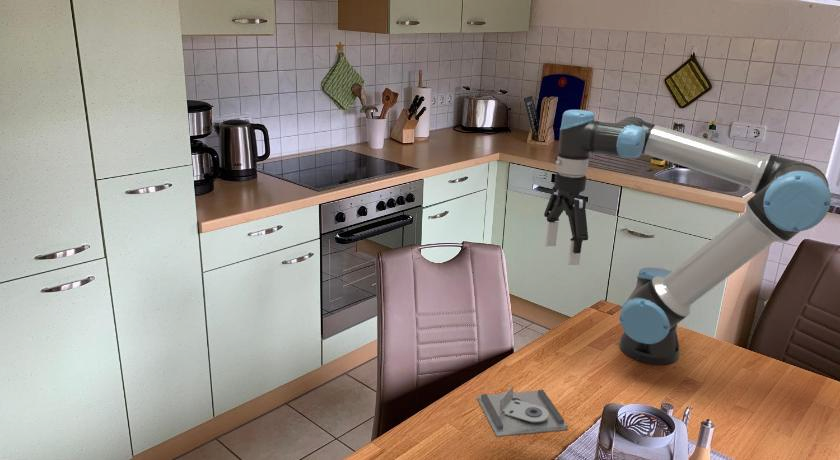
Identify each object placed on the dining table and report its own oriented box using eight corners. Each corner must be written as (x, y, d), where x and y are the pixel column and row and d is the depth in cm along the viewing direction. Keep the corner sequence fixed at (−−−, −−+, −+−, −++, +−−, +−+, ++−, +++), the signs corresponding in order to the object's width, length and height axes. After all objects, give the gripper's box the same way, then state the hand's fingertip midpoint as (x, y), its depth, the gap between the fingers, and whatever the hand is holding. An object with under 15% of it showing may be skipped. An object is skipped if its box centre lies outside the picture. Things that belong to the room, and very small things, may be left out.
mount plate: (542, 393, 153) (543, 387, 152) (567, 429, 140) (568, 422, 139) (477, 398, 149) (478, 392, 149) (496, 436, 136) (497, 429, 136)
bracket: (542, 428, 138) (543, 414, 137) (498, 412, 143) (500, 399, 142) (552, 413, 143) (554, 400, 142) (510, 399, 148) (512, 385, 147)
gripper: (536, 162, 170) (529, 239, 177) (580, 187, 147) (569, 273, 154) (563, 162, 172) (554, 238, 179) (610, 186, 149) (598, 272, 156)
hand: (561, 254), depth 166 cm, fingers open, 13 cm apart
